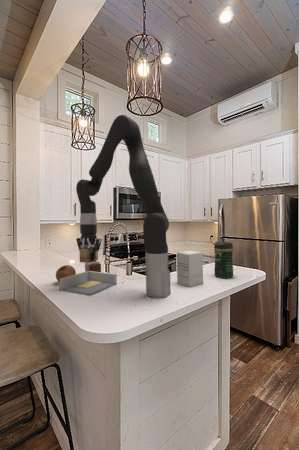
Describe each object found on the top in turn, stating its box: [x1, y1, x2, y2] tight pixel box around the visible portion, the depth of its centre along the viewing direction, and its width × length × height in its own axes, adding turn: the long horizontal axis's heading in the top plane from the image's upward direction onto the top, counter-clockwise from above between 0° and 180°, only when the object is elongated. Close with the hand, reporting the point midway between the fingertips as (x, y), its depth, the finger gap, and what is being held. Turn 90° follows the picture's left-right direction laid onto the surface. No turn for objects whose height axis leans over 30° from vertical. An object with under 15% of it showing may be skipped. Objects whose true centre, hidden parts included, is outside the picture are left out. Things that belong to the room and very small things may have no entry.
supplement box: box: [176, 250, 204, 288], centre depth 111 cm, size 9×9×15 cm
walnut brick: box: [78, 247, 99, 264], centre depth 109 cm, size 8×4×6 cm, turn 152°
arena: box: [59, 271, 118, 296], centre depth 107 cm, size 18×18×5 cm
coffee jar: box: [213, 240, 234, 279], centre depth 123 cm, size 10×8×19 cm
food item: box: [84, 260, 102, 272], centre depth 129 cm, size 14×8×10 cm, turn 27°
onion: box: [55, 264, 77, 283], centre depth 116 cm, size 10×9×10 cm
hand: (89, 259), depth 109 cm, fingers closed on walnut brick, 4 cm apart
